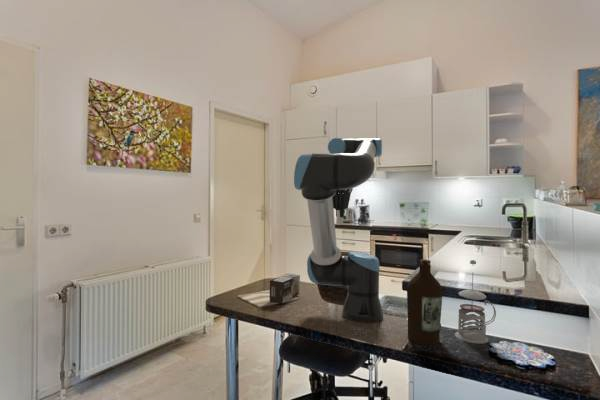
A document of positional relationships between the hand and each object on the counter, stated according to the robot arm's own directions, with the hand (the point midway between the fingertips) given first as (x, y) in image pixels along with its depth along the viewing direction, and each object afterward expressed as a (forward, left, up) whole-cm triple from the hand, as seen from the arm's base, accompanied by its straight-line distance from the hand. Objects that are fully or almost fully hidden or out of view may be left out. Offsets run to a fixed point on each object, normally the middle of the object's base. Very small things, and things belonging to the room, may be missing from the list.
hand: (339, 224), depth 157 cm
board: (+14, +29, -32) cm, 46 cm away
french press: (-60, -2, -33) cm, 68 cm away
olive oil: (-51, +13, -33) cm, 62 cm away
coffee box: (+12, +16, -27) cm, 34 cm away
